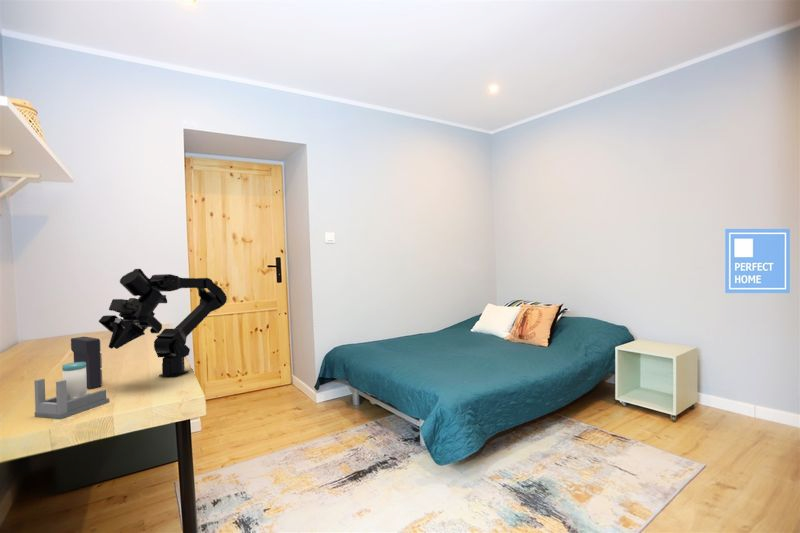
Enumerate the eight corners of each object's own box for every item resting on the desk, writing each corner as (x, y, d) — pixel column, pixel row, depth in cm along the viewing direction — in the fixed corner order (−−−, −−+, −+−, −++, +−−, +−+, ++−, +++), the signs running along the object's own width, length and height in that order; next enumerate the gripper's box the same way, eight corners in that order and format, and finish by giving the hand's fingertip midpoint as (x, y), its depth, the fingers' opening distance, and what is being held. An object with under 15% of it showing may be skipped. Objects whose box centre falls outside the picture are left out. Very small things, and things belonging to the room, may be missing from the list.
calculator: (104, 386, 123) (102, 338, 123) (87, 390, 119) (86, 340, 119) (88, 381, 128) (86, 335, 128) (72, 385, 125) (70, 338, 125)
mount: (84, 400, 110) (83, 367, 110) (109, 401, 107) (108, 369, 107) (34, 416, 98) (33, 380, 98) (61, 418, 96) (60, 381, 96)
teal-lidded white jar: (77, 400, 106) (76, 361, 106) (92, 401, 105) (90, 362, 105) (58, 406, 101) (57, 366, 101) (73, 407, 100) (71, 366, 100)
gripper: (103, 289, 121) (66, 331, 110) (152, 288, 116) (118, 332, 106) (128, 311, 129) (95, 352, 118) (175, 311, 124) (145, 354, 113)
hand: (112, 347), depth 113 cm, fingers closed
